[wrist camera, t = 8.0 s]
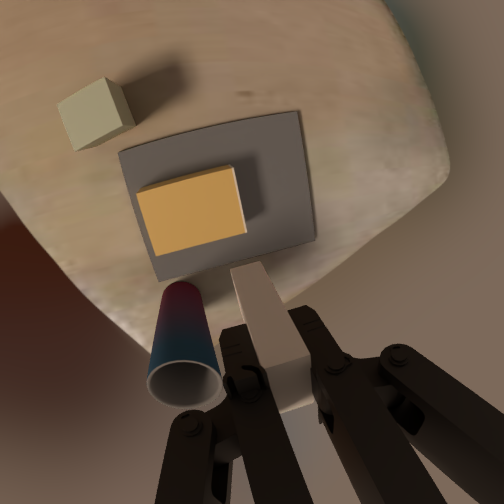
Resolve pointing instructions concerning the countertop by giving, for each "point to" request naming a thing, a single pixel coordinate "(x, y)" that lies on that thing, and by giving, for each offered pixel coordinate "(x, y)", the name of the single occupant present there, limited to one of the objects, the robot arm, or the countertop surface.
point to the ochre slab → (192, 209)
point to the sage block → (95, 114)
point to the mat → (248, 181)
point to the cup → (183, 352)
